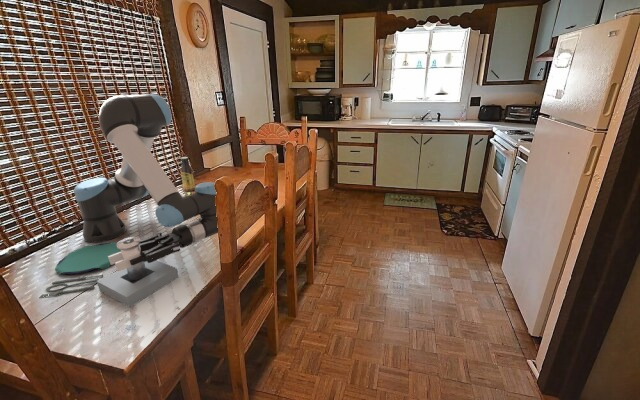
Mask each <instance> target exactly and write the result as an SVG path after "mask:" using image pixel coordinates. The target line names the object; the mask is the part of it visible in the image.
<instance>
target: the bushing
mask: <svg viewBox="0 0 640 400" xmlns="http://www.w3.org/2000/svg"><path fill="white" fill-rule="evenodd" d="M141 240H142V239H141V238H140V237H139V236H130V237H129V236H128V237H125V238H123V239H121V240H119V241H118V242H116V243H117V244H116V245H117V248H118V249H119V250H121V253H122V256H123V259H126V258H128V257H131V256H133V255H136V254H138V253H140V255H141V248H140V243H141ZM126 270H127V273H128V276H129V279H130V280H138V279H141V278H143V277H145V276H146V275H147V270H146V266H145V263H144V262H140V263H138V264H135V265H133V266H131V267H128V268H126Z"/></svg>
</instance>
